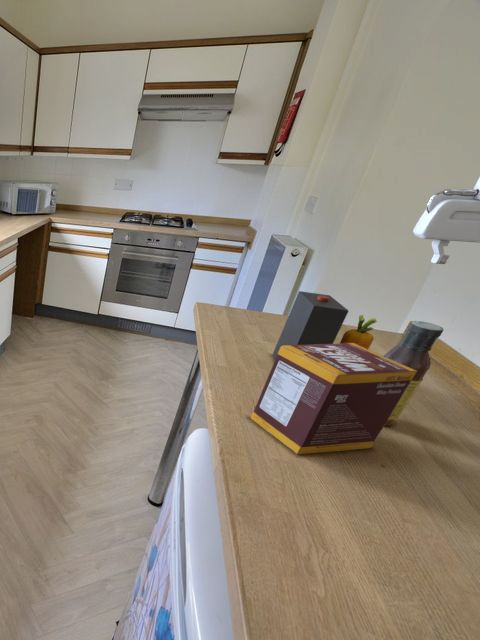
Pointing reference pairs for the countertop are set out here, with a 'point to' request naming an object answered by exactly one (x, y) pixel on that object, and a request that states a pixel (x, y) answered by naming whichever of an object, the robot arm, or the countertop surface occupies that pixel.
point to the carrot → (360, 334)
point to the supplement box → (329, 396)
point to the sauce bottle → (413, 358)
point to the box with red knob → (312, 321)
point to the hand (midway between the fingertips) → (468, 265)
